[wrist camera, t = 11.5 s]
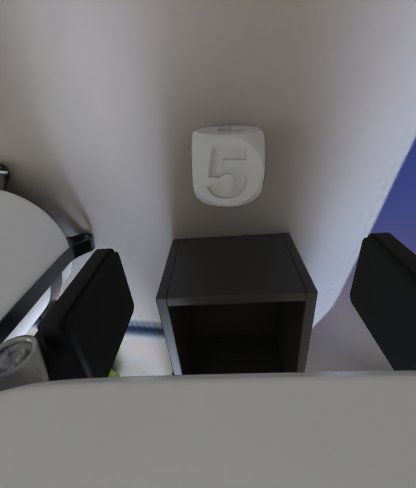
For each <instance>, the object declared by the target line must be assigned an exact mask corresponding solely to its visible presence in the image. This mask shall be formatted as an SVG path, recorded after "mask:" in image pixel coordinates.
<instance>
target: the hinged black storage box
mask: <svg viewBox="0 0 416 488" xmlns="http://www.w3.org/2000/svg"><path fill="white" fill-rule="evenodd" d="M317 294H318V292H317V290H316V288H315V285H314V283H313V281H312V279H311V277H310V275H309V273H308V271H307V269H306V267H305V265H304V263H303V261H302V259H301V257H300V255H299V253H298V251H297V248H296V246H295V244H294V242H293V240H292V238H291V236H290V234H289V233H279V234H262V235H245V236H228V237H210V238H193V239H176V240H173V242H172V246H171V249H170V252H169V256H168V259H167V263H166V266H165V269H164V273H163V276H162V280H161V283H160V286H159V290H158V293H157V296H156V302H157V306H158V310H159V314H160V318H161V322H162V327H163V331H164V335H165V339H166V343H167V347H168V351H169V355H170V359H171V363H172V367H173V371H174V375H201V374H244V373H289V372H305V368H306V361H307V355H308V349H309V343H310V336H311V331H312V324H313V318H314V312H315V306H316V300H317Z"/></svg>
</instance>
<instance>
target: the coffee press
mask: <svg viewBox="0 0 416 488" xmlns="http://www.w3.org/2000/svg"><path fill="white" fill-rule="evenodd" d="M8 179H9V172H8V169H7V168H6V167H5V166H4V165H0V344H1V343H3V342H5V341H6V340H8V339H11V338H14V337H16V336H21V335H25V334H26V333H27V331H28V330H29V329H30V328H31V326H32V325H33V324H34V322H35V321H36V320H38V319H40V320H43V318H44V317H45V316H46V315H47V313H48V312H49V311H50V309H51V308H52V307H53V305H54V304H55V303H56V301H57V300H56V298H57V297H58V295H59V293H60V290H61V287H62V286H63V285H64V283H65V282H66V280H67V279H68V277H69V274H70V271H71V266H72V260H74V259H75V258H77V257H79V256H81V255H83V254H85V253H87V252H90V251H92V250H93V249H94V248H95V245H94V240H93V235H92V234H89V233H84V234H80V235H76V236H72V237H67V238H66V237H65V235H64V234H63V232H62V230H61V229H60V228H59V226H58V225H57V224H56V223H55V221H54V220H53V219H52V218H51V217H50V216H49V215H48V214H47V213H45V212H44V211H43V210H42V209H40V208H39V207H38V206H36V205H35V204H33V203H31V202H30V201H28V200H26V199H24V198H22V197H20V196H18V195H15V194H12V193H9V192H6V187H7V183H8Z"/></svg>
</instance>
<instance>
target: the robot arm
mask: <svg viewBox="0 0 416 488" xmlns="http://www.w3.org/2000/svg"><path fill="white" fill-rule="evenodd" d="M350 299H351V302H352V304H353V306H354V307H355V308H356V311H357V312H358V314H359V315H360V317H361V318H362V320H363V322H364V323H365V325H366V327H367V328H368V330H369V331H370V333H371V334H372V336H373V338H374V339H375V341H376V342H377V344H378V346H379V347H380V349H381V350H382V352H383V354H384V355H385V357H386V358H387V360H388V362H389V363H390V365H391V366H392V368H393V370H394V371H344V372H289V373H244V374H201V375H166V376H130V377H108V376H109V374H110V371H111V368H112V366H113V363H114V361H115V358H116V355H117V353H118V350H119V348H120V345H121V342H122V340H123V337H124V334H125V332H126V329H127V327H128V324H129V321H130V319H131V316H132V314H133V310H134V303H133V299H132V296H131V293H130V289H129V286H128V283H127V279H126V276H125V273H124V269H123V266H122V263H121V259H120V256H119V254H118V252H114V250H113V249H97V250H96V251H95V252H94V253H93V254H92V256H91V257H90V258H89V260H88V261H87V262H86V264H85V265H84V266H83V267H82V269H81V270H80V271H79V273H78V274H77V275H76V277H75V278H74V279H73V281H72V282H71V283H70V284H69V286H68V287H67V288H66V290H65V291H64V292H63V294H62V295H61V296H60V298H59V299H58V300H57V301H56V303H55V304H54V305H53V307H52V308H51V309H50V311H49V312H48V313H47V315H46V316H45V317H44V318H43V320H42V321H41V322H40V324H39V325H38V326H37V329H38V332H37V333H36V334H35V336H31V335H21V336H16V337H14V338H11V339H8V340H6V341H5V342H3V343H1V344H0V488H416V255H415V254H414V253H413V252H412V251H410V250H409V249H408V248H407V247H405V246H404V245H403V244H402V243H401V242H399V241H398V240H397V239H396V238H395V237H394V236H392V235H391V234H390V233H371V234H369V235H368V237H367V238H364V239H363V242H362V246H361V250H360V254H359V258H358V263H357V267H356V271H355V275H354V279H353V284H352V288H351V292H350Z"/></svg>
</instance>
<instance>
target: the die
mask: <svg viewBox="0 0 416 488" xmlns="http://www.w3.org/2000/svg"><path fill="white" fill-rule="evenodd" d="M264 172H265V140H264V134H263V131H262V130H261V129H260V128H258V127H252V126H238V125H228V126H211V127H204V128H199V129H196V130H195V131H194V132H193V135H192V176H193V187H194V193H195V196H196V197H197V198H198V199H199V200H200V201H202V202H204V203H206V204H209V205H213V206H221V207H232V206H240V205H245V204H248V203H250V202H252V201H254V200H255V199H256V198H257V197H258V196H259V195H260V194H261V192H262V188H263V182H264Z"/></svg>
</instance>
